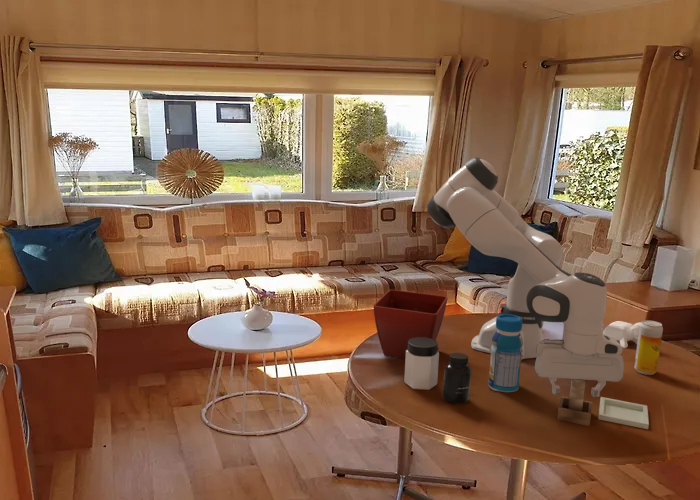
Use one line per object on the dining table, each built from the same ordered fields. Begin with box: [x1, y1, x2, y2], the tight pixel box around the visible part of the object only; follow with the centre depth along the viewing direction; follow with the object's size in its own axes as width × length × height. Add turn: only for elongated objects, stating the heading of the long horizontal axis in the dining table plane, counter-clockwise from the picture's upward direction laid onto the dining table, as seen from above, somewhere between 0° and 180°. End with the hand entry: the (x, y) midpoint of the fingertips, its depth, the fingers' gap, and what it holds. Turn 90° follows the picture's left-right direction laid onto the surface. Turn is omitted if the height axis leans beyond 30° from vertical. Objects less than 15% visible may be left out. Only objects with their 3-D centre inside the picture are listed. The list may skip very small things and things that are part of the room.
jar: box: [403, 337, 440, 391], centre depth 168 cm, size 9×8×12 cm
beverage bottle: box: [487, 314, 523, 393], centre depth 166 cm, size 8×8×20 cm
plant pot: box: [373, 289, 449, 360], centre depth 190 cm, size 19×19×17 cm
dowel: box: [568, 379, 587, 412], centre depth 151 cm, size 3×3×10 cm
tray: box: [598, 396, 650, 430], centre depth 154 cm, size 11×11×2 cm
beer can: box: [634, 319, 664, 376], centre depth 181 cm, size 6×6×15 cm
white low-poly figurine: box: [603, 320, 642, 349], centre depth 205 cm, size 9×8×15 cm
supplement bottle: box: [441, 352, 472, 405], centre depth 160 cm, size 7×7×12 cm
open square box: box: [556, 395, 593, 427], centre depth 152 cm, size 7×7×4 cm
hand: (575, 394), depth 151 cm, fingers open, 8 cm apart
